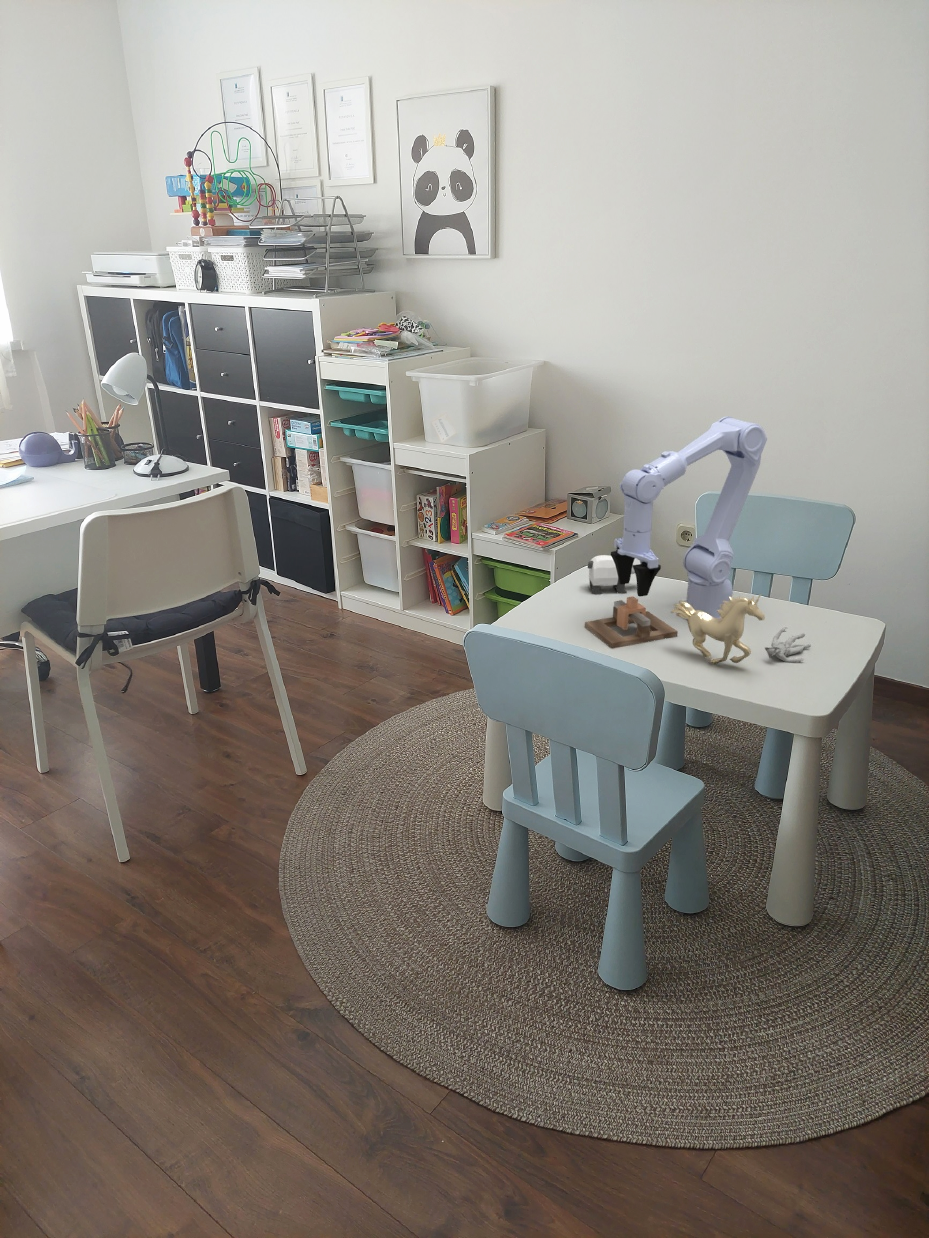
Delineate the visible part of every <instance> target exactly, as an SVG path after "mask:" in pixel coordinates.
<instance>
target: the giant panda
mask: <svg viewBox="0 0 929 1238" xmlns="http://www.w3.org/2000/svg"><path fill="white" fill-rule="evenodd" d="M638 564H642V562H641V561H640V560H638V559H636V558H635V559H634V562H633V565H638ZM587 569H588V579H589V589H590V590H592V594H593V595H602V594H603V590H601V587H602V586H613V588H614V589H616V593H617V594H627V593H628V590H626V584H619V580H618V574H617V570H616V566H615V563H614V560H613V558H612V556H611V555H607V554H603V555H602V554H601V555H596V556H594V557H593V558H591V559H590V561H588V562H587ZM634 574H635V571H634V568H633V566H632V571H631V575H634ZM635 575H636V574H635Z"/></svg>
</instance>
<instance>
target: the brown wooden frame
mask: <svg viewBox="0 0 929 1238" xmlns="http://www.w3.org/2000/svg"><path fill="white" fill-rule="evenodd" d="M623 605H626V602H625V601H623V600H621V599H620V600H615V601H613V609H612V610H613V611H612V616H611V617H606V618H602V619H600V618H599V619H596V620H589V621H585V622H584V628H586V630H588V631H589V632H590V633H591V634H593V635H594V634H595V635H594V636H595V637H597V638H598V639H599V640H600V641H602V642H603V641H604V642H603V643H604V644H606V645H607V646H608V647H609V646H610V647H609V648H611V649H616V648H622V647H626V646H633V645H637V644H643V643H644V644H645V643H649V642H654V640H655V641H659V640H665V638H666V639H669V638H670V639H671V638H676V637H678V634H679V633H678V632H679V631H678V630H677V629H675V628H673V627H672V626H671V625H670V624H668V623H666V622H665V621H663V620H662V619H661V618H659V617H658V616H655V615H654V614H653V613H651V612H650V611H648V610H646V615H645V616H644V615H642V614H641V613H639V612H638V613H633V614H629V618H628V624H633V623H635V622H637V624H636V634H630V635H626V636H625V635H624V636H622V635H620V634H619V633H618V632H616V631H615V630H614V629H612V628H611V627H616V626H618V625H617V611H618V606H623ZM633 621H635V622H633ZM648 641H649V642H648Z"/></svg>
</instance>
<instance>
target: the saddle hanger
mask: <svg viewBox="0 0 929 1238" xmlns="http://www.w3.org/2000/svg"><path fill="white" fill-rule="evenodd" d="M625 603H626V605H623V606H618V611H617V626H618V627H619V628H620V629H622V630H624V631H625V630H628V629H629V623H628V618H629V614H633V613H638V612H639V613H641V614H642V615H644V616H645V615H646V611H647V607H646V606H644V605H643V604H641V603H640V602H639V598H636V597H635V596H634V595H633V596H628V597H626V602H625ZM633 622H634V623H635V624H636V625H637V622H635V621H633Z"/></svg>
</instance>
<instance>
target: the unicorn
mask: <svg viewBox="0 0 929 1238" xmlns="http://www.w3.org/2000/svg"><path fill="white" fill-rule="evenodd" d="M761 595H762V593H760V594H759V595H758V597H757V598H756V600H755V598H754V596H752V597H751V599H750V598H747V597H744V596H738V597H733V596H732V597H730V596H729V598H730V601H723V603H724V604H722V605H719V606H720V607H721V608H722V609H718V610H717V611H718V612H719V613H718V614H719V615H720V617H721V618H714V617H712V616H710V615H709V614H708V613H706V612H704V611H700V610H695V609H694V608H693V607H692V606H691V605H690V604H689V603H687V602H686V601H684V600H683V601H682V600H680V601H679V602H678V603H675V604H674V608H673V609H672V610H670V613H672V614H673V613H676V614H675V615H676V616H677V617H681V618H683V619H685V620H687V625H688V629H689V632H690V634H691V636H692V638H693V639H692V646H693V647H694V648H695V649H697V650H698V651H699V652H700V653H701V655H702V656H703V657H704V658H706V659H709V658H711V657H712V656H711V652H710V651H709V650H708V649H707V648H706V647H705V646H704V645H703V643H705V642H706V640H707V639H706V638H707V636H708V637H710V638H711V639H713V640H715V641H717V642H722V643H724V650H723V655H722V657H719V658H713V659H711V660H709V662H708V663H709V664H711V665H718V664H719V663H723V662H726V661H727V659H728V658H729V655H730V653H731V650H732V647H733V646H734V647H736V648H737V649H739V650H740V651H742V652H743V655H740V656H737V655H736V656H733V657H730V658H729V661H731V662H732V663H734V664H737V663H740V662H742V661H744V659H746V658H747V657H749V656H750V655H751V654H752V653H751V652H752V650H751V648H750V646H748V645H746V644H744V643H743V642H741V641H740V639H741V638H742V636H743V634H744V628H745V617H746V615H749V616H751V617H754V618H756V619H758V621H764V620H765V618H766V616H765V613H763V611H762V610H761V609H759V605H758V602H759V600H760V598H761Z"/></svg>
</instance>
